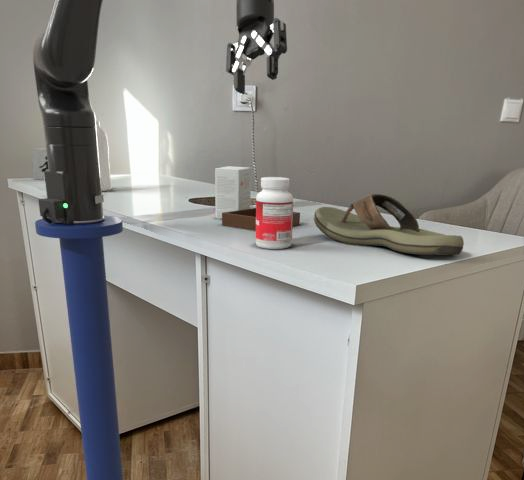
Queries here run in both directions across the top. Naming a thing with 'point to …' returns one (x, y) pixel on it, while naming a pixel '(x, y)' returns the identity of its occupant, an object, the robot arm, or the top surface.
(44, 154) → the icon cube
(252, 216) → the tray
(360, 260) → the top surface
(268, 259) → the top surface
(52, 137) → the robot arm
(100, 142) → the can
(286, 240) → the pill bottle
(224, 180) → the small box
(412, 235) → the flip flop
